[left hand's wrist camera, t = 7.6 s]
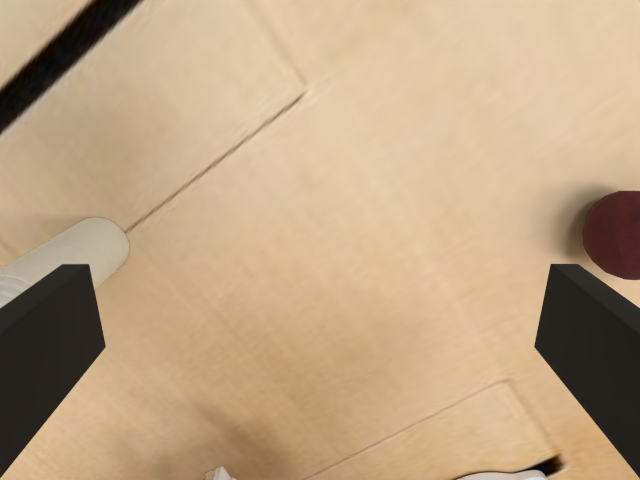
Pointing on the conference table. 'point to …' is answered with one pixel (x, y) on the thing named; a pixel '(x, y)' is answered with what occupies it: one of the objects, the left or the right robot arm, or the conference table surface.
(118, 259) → the bottle
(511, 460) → the conference table surface
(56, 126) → the conference table surface
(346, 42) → the conference table surface
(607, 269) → the dark red ball
